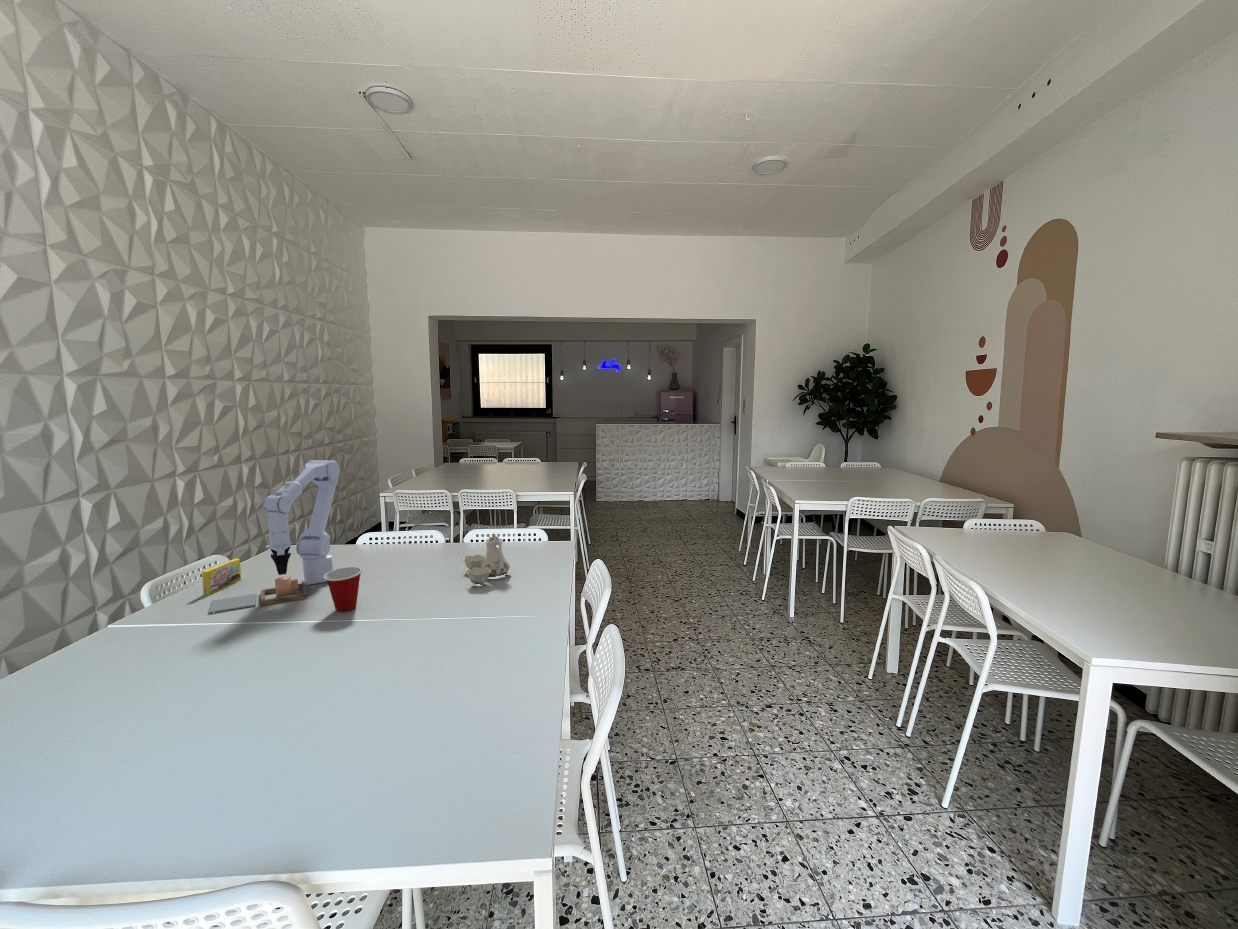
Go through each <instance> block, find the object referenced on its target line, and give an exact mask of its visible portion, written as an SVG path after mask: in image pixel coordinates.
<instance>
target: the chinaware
mask: <svg viewBox="0 0 1238 929" xmlns="http://www.w3.org/2000/svg"><path fill="white" fill-rule="evenodd" d="M503 541H504V539H502V538H499V537H498V536H497V534H496V533H495V532H492V535H491V536H488V539H485V541H484V542H485V544H486V553H485V555H482V554H474V555H466V556H464V558H462V559H461V560H462V561H463V562H464V563H465V566H466V568H467V570H466V571H465V573H466V574H467V576H468V578H469V581H470V582H471V583H472V584H474V585H476V584H480V585H482V586H481V587H484V585H485V583H486V582H487V581H488V580H489V579H488V578H489V577H496V576H501V575H504V574H507V573H508V572H509V571H510V568H511V565H510V564H509V562H508V561H507V559H506V558H505V556H504V552H503Z"/></svg>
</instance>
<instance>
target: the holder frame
mask: <svg viewBox="0 0 1238 929" xmlns="http://www.w3.org/2000/svg"><path fill="white" fill-rule="evenodd" d="M299 589H302V593H298V594H292V595H290V596H284V597H278V598H276V597H273V598H268V599H266V595H268V594H269V595H270V594H276V588H275V587H269V588H263V589H261V590H260V606H267V605H274V604H280V603H285V602H291V601H292V602H293V601H298V600H304V599H308V591H307V585H305V583H303V582H302V583H298V589H297V590H299Z"/></svg>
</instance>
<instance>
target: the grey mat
mask: <svg viewBox="0 0 1238 929" xmlns="http://www.w3.org/2000/svg"><path fill="white" fill-rule="evenodd" d="M256 602H257V593H250V594H243V595H237V596H231V597H225V598H220V599H219V598H218V599H212V600H211V604H210V607H209V610H208V614H209V613H212V614H214V613H213V612H218V613H222V612H221V611H224V612H229V611H228V610H230V611H234V610H233V609H236V610H240V609H239V608H242V609H248V608H254V607H256V604H257V603H256ZM247 607H248V608H247Z"/></svg>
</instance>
